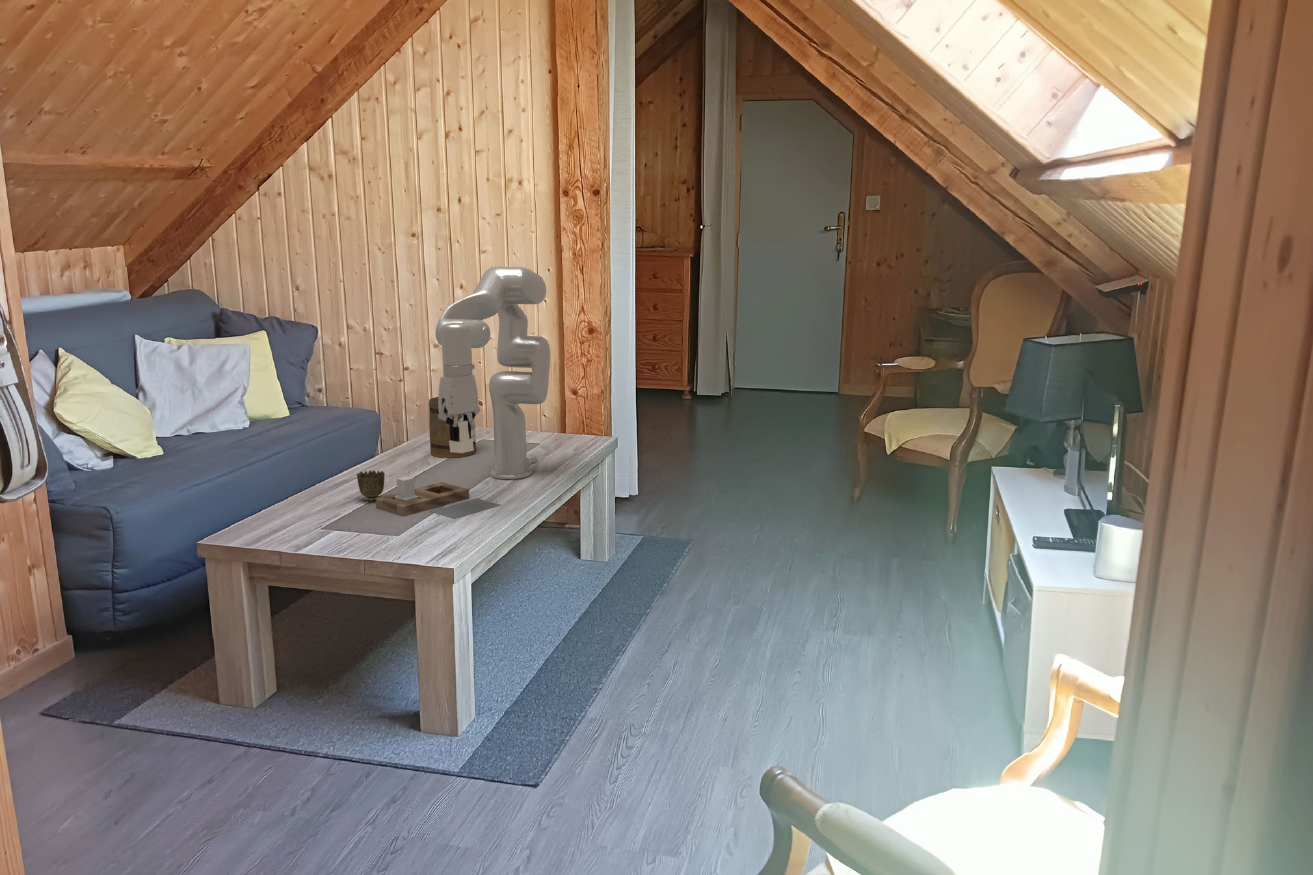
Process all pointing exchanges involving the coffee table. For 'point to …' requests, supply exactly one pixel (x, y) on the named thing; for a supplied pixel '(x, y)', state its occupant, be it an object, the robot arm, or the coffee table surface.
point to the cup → (371, 484)
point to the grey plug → (405, 489)
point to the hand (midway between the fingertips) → (460, 439)
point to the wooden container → (444, 434)
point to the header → (424, 499)
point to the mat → (465, 508)
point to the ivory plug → (462, 439)
